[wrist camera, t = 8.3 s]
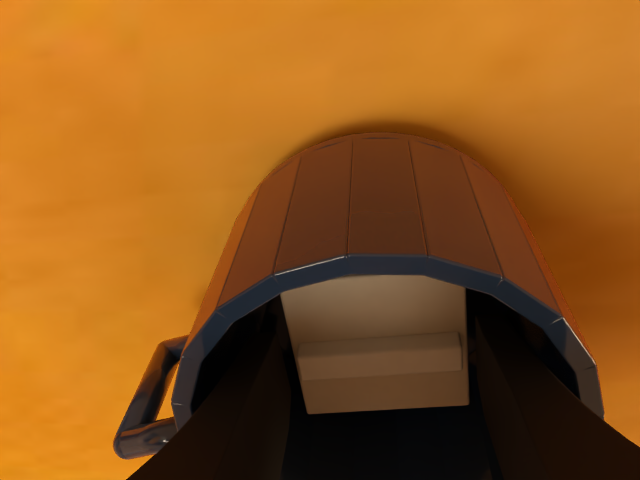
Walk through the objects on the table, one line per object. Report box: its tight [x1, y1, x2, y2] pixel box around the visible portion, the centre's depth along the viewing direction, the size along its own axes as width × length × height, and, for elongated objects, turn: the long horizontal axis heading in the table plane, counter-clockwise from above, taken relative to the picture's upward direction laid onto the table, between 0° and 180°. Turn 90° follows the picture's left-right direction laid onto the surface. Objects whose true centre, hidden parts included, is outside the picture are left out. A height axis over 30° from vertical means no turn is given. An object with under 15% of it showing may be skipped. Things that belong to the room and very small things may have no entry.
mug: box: [113, 132, 605, 480], centre depth 15 cm, size 12×9×6 cm
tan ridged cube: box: [280, 275, 470, 414], centre depth 16 cm, size 4×4×4 cm
